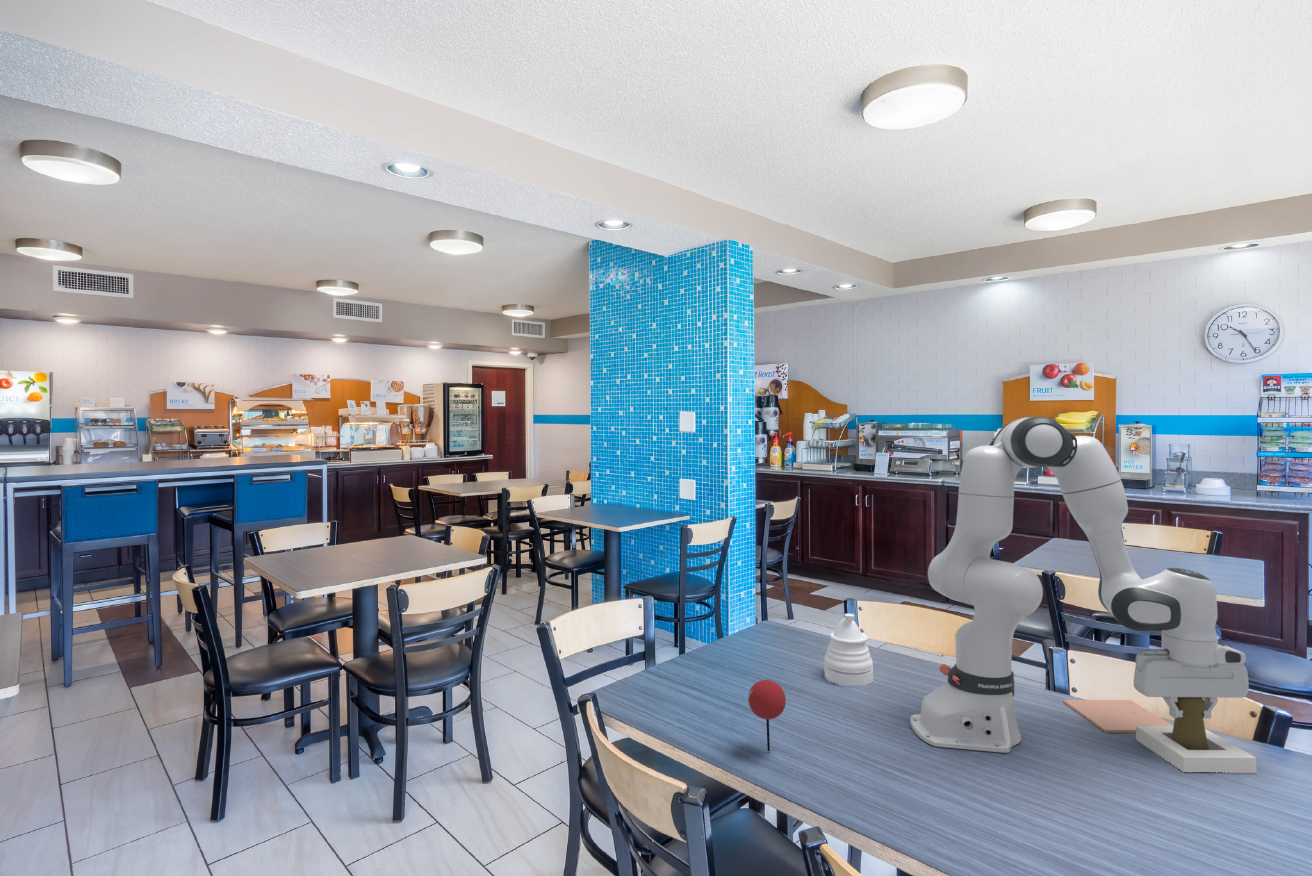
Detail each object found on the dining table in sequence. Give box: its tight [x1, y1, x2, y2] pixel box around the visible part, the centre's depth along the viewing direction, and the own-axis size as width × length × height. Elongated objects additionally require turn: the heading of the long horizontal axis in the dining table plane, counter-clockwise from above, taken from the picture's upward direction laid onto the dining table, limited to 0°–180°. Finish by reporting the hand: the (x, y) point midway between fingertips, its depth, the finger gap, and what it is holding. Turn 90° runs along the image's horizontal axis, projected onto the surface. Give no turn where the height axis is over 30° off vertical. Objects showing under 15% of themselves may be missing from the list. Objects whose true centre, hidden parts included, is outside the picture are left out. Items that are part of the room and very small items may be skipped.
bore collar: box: [1135, 725, 1257, 774], centre depth 130 cm, size 13×13×3 cm
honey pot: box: [823, 613, 874, 685], centre depth 175 cm, size 13×13×18 cm
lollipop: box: [747, 679, 787, 752], centre depth 136 cm, size 8×8×15 cm
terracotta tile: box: [1062, 699, 1174, 734], centre depth 148 cm, size 16×16×1 cm
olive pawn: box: [1171, 697, 1209, 750], centre depth 130 cm, size 6×6×11 cm
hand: (1190, 717), depth 130 cm, fingers closed on olive pawn, 4 cm apart
